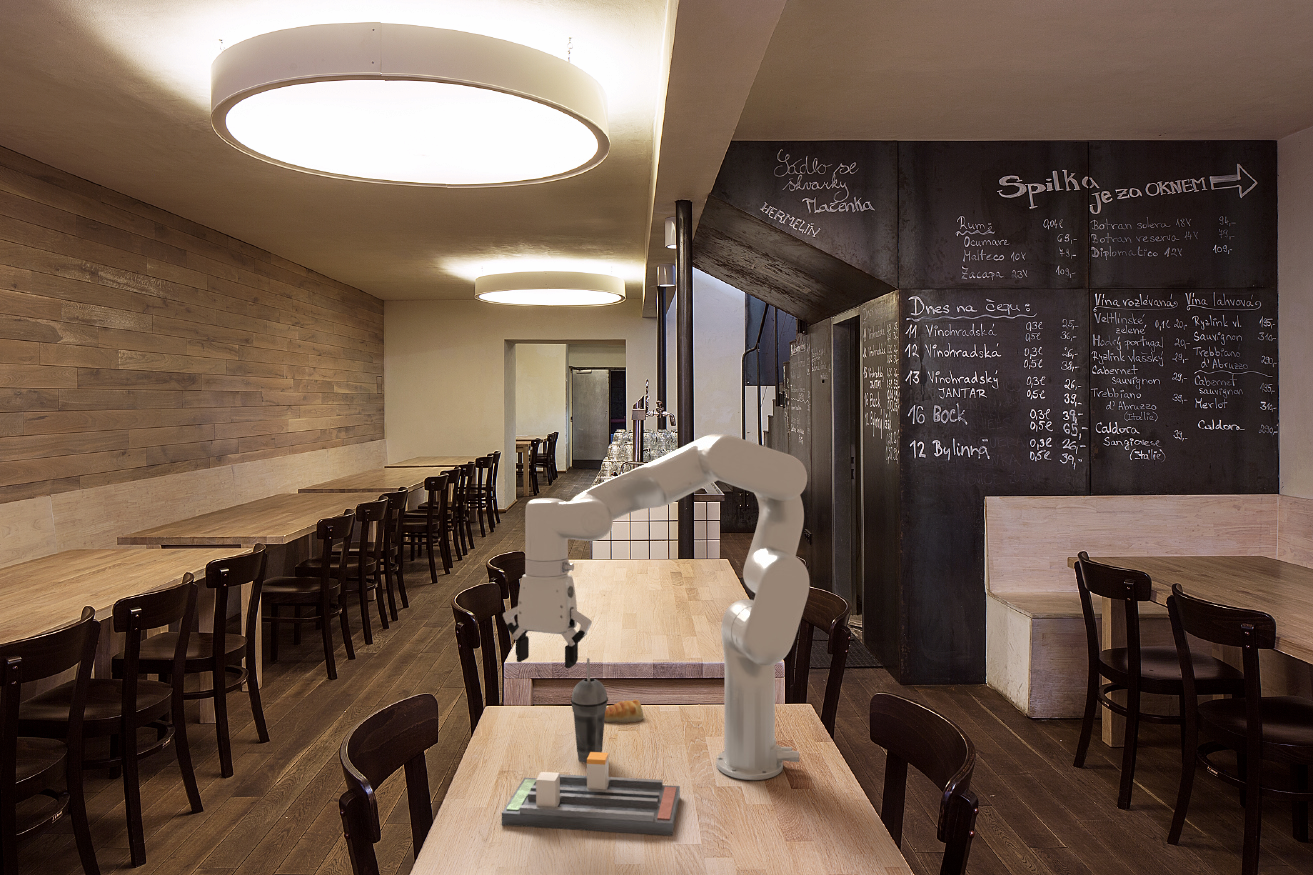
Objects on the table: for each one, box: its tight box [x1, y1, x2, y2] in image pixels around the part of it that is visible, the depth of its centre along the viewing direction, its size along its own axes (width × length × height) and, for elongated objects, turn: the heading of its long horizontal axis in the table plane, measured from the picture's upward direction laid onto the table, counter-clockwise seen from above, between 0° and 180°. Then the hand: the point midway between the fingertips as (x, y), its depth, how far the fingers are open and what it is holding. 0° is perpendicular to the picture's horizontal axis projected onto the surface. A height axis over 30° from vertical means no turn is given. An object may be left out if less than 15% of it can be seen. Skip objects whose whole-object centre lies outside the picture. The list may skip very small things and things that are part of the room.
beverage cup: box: [570, 657, 609, 764], centre depth 157 cm, size 7×7×20 cm
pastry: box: [604, 699, 644, 724], centre depth 179 cm, size 9×7×4 cm
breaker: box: [536, 771, 560, 807], centre depth 134 cm, size 3×3×5 cm
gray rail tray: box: [501, 773, 681, 836], centre depth 136 cm, size 28×13×3 cm, turn 83°
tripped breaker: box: [586, 751, 610, 790], centre depth 140 cm, size 3×3×6 cm
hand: (546, 662), depth 144 cm, fingers open, 9 cm apart
